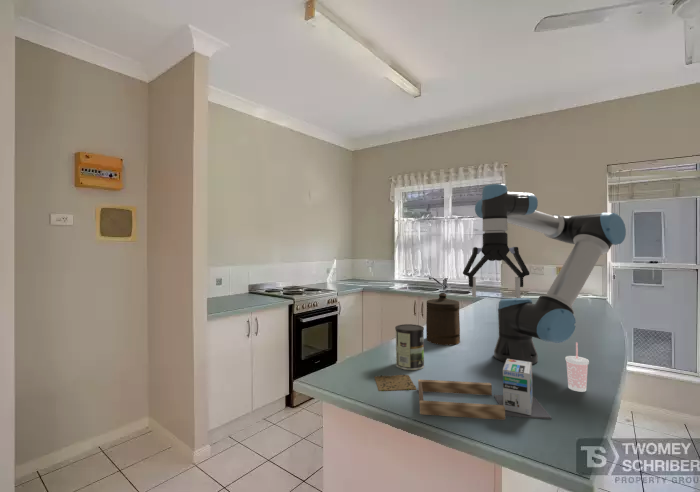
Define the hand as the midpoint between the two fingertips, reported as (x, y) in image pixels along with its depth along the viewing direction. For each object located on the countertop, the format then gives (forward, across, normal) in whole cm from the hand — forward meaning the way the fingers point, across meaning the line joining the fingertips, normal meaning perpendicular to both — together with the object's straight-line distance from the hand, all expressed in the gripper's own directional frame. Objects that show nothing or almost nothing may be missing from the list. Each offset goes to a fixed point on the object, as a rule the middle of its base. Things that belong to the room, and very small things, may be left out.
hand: (495, 297), depth 115 cm
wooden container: (+27, +13, -44) cm, 53 cm away
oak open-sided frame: (+27, +15, +20) cm, 37 cm away
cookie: (+27, +33, +8) cm, 44 cm away
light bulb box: (+26, -1, +20) cm, 33 cm away
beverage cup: (+27, -22, +5) cm, 35 cm away
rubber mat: (+27, -2, +20) cm, 33 cm away
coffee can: (+27, +28, -9) cm, 40 cm away
